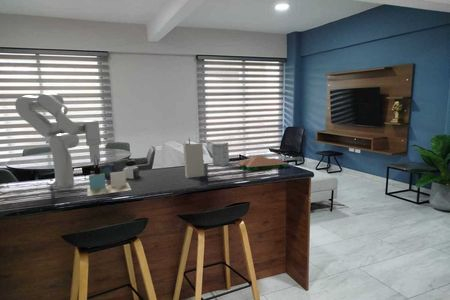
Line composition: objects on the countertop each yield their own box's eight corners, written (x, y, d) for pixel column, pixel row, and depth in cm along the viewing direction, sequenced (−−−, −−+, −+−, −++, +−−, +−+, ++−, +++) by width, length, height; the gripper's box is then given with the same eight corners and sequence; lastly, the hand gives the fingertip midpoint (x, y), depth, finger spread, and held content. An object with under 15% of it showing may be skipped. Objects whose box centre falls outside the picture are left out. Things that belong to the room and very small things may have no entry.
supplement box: (229, 164, 230) (228, 142, 228) (223, 166, 223) (222, 144, 220) (219, 163, 235) (218, 142, 233) (212, 165, 228) (211, 143, 225)
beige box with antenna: (204, 176, 195) (202, 137, 191) (187, 178, 191) (185, 138, 187) (201, 174, 202) (199, 136, 199) (184, 176, 198) (182, 137, 194)
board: (87, 197, 155) (87, 196, 154) (87, 189, 171) (87, 187, 171) (131, 191, 163) (131, 189, 163) (127, 184, 180) (127, 182, 180)
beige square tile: (111, 187, 170) (110, 173, 169) (111, 186, 172) (109, 172, 171) (126, 185, 173) (125, 171, 172) (125, 184, 175) (124, 171, 174)
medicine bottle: (134, 180, 190) (132, 161, 188) (123, 179, 191) (122, 161, 189) (139, 177, 197) (137, 159, 195) (129, 177, 198) (127, 159, 196)
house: (234, 166, 225) (233, 155, 224) (274, 162, 233) (274, 152, 232) (244, 172, 203) (243, 160, 202) (288, 168, 211) (288, 156, 210)
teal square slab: (90, 190, 166) (88, 175, 165) (90, 189, 168) (88, 175, 166) (105, 187, 169) (104, 174, 168) (105, 187, 171) (104, 173, 170)
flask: (99, 179, 194) (98, 163, 193) (100, 178, 197) (98, 162, 196) (115, 177, 197) (113, 161, 196) (115, 177, 200) (113, 161, 199)
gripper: (86, 142, 175) (90, 172, 178) (86, 144, 162) (90, 177, 164) (100, 140, 178) (104, 171, 181) (101, 142, 165) (105, 175, 167)
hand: (97, 174), depth 173 cm, fingers closed
